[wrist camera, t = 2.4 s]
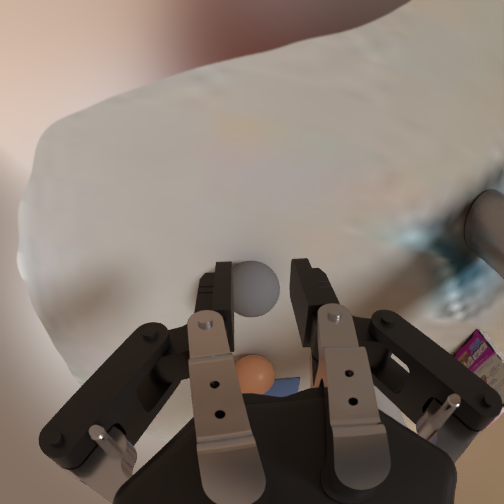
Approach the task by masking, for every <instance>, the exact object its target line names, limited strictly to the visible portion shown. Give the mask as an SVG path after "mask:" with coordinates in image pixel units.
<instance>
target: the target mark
mask: <svg viewBox="0 0 504 504" xmlns="http://www.w3.org/2000/svg"><path fill="white" fill-rule="evenodd" d="M299 380H300V377H298V378H287V379H275V380H274V383H273V385H272V387H271V388H270V389H269V390H268V391H267V392H266V393H264V394H262V395H269V396H277V397H285V396H288V395H291V394H295V393H297V391H298V386H299Z"/></svg>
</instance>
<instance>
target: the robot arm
mask: <svg viewBox="0 0 504 504" xmlns="http://www.w3.org/2000/svg"><path fill="white" fill-rule="evenodd" d="M465 240H466V243H467V245H468V247H469V248H470V249H471V250H472V251H473V252H475V253H476V254H477V255H478V256H479V257H480V258H482V259H483V260H484V261H485V262H486V263H487V264H488V265H489V266H490V267H491V268H492V269H494V270H495V271H496V272H497V273H498V274H499V275H500V276H501V277H502V278H503V279H504V194H503V193H501V192H499V191H497V190H493V189H491V190H487V191H485V192H483V193H482V194H481V195H480V196H479V197H478V198H477V199H476V200H475V202H474V203H473V205H472V207H471V209H470V211H469V213H468V216H467V220H466V224H465ZM290 298H291V302H292V306H293V310H294V314H295V318H296V322H297V326H298V330H299V334H300V338H301V342H302V346H303V347H310V348H311V356H310V372H311V388H309V389H306V390H304V391H301V392H298V393H295V394H291V395H288V396H285V397H277V396H269V395H262V394H255V393H242V392H241V388H240V384H239V380H238V376H237V372H236V367H235V363H234V359H233V355H232V353H231V352H234V292H233V275H232V262H231V261H230V262H216V268H215V273H205V274H204V275H203V276H202V277H201V279H200V281H199V288H198V294H197V299H196V306H195V312H194V314H193V315H191V316H190V318H189V319H188V322H187V324H186V325H184V326H182V327H179V328H175V329H171V330H167V328H166V327H165V326H164V325H163V324H161V323H156V322H151V323H146V324H143V325H141V326H140V327H138V328H137V329H136V330H135V331H134V332H133V333H132V334H131V335H130V336H129V337H128V338H127V339H126V340H125V341H124V343H123V344H122V345H121V346H120V347H119V348H118V349H117V350H116V351H115V352H114V353H113V354H112V355H111V356H110V357H109V358H108V359H107V360H106V361H105V362H104V363H103V364H102V365H101V366H100V367H99V368H98V370H97V371H96V372H95V373H94V374H93V375H92V376H91V377H90V378H89V379H88V380H87V381H86V382H85V383H84V384H83V385H82V386H81V388H80V389H79V390H78V391H77V392H76V393H75V394H74V395H73V396H72V397H71V398H70V399H69V401H67V403H66V404H65V405H64V406H63V407H62V408H61V409H60V410H59V412H58V413H57V414H56V415H55V416H54V417H53V418H52V419H51V420H50V421H49V422H48V423H47V424H46V426H45V427H44V428H43V429H42V431H41V432H40V436H39V445H40V448H41V450H42V451H43V453H44V454H46V455H47V456H48V457H49V458H50V459H52V460H53V461H54V462H55V463H56V464H57V465H58V466H59V467H60V468H62V469H63V470H64V471H66V472H67V473H69V474H70V475H71V476H73V477H74V478H76V479H79V480H80V481H82V482H83V483H85V484H86V485H88V486H89V487H91V488H92V489H93V490H95V491H96V492H97V493H99V494H100V495H101V496H103V497H104V498H106V499H107V500H108V501H110V502H111V503H113V504H454V496H455V489H456V483H457V471H456V467H455V464H454V463H455V462H456V461H457V460H458V458H459V457H460V456H461V455H462V454H463V452H464V451H465V450H466V448H467V447H468V446H469V445H470V443H471V442H472V441H473V440H474V439H475V438H476V437H477V436H478V435H479V434H480V433H481V432H482V431H483V430H484V429H485V428H486V427H487V426H488V425H489V424H490V423H491V422H492V421H493V420H494V419H495V418H496V417H497V416H498V415H499V414H500V412H501V410H502V406H503V403H502V399H501V397H500V395H499V393H498V392H497V391H496V390H494V389H493V388H492V387H491V386H490V385H488V384H487V383H486V382H485V381H483V380H482V379H481V378H480V377H478V376H477V375H476V374H475V373H473V372H472V371H471V370H470V369H468V368H467V367H466V366H465V365H463V364H462V363H461V362H460V361H458V360H457V359H456V358H454V357H453V356H452V355H451V354H449V353H448V352H447V351H446V350H444V349H443V348H442V347H440V346H439V345H438V344H436V343H435V342H434V341H433V340H431V339H430V338H429V337H427V336H426V335H425V334H423V333H422V332H421V331H419V330H418V329H417V328H415V327H414V326H413V325H411V324H410V323H409V322H407V321H406V320H405V319H403V318H402V317H401V316H399V315H398V314H397V313H395V312H393V311H389V310H379V311H376V312H375V313H374V314H373V315H372V317H371V319H367V318H359V317H355V316H352V314H351V312H350V310H349V309H348V308H346V307H345V306H343V305H340V303H339V301H338V299H337V297H336V295H335V292H334V290H333V288H332V287H331V284H330V282H329V280H328V278H327V275H326V274H325V273H324V272H323V271H322V270H321V269H319V268H312V267H311V265H310V263H309V260H308V259H307V258H303V259H292V261H291V273H290ZM392 353H393V354H394V355H395V356H396V357H398V358H399V359H400V360H401V361H402V362H403V363H405V364H406V365H407V366H408V368H409V371H410V373H408V372H407V371H406V370H405V369H404V368H403V367H402V366H400V365H399V364H398V363H397V362H396V361H395V360H393V359H392V358H391V355H392ZM187 378H190V385H191V395H192V404H193V413H194V417H193V418H192V419H191V420H190V421H189V422H188V423H187V424H186V425H185V426H184V427H183V428H182V429H181V430H180V431H179V432H178V433H177V434H176V435H175V436H174V437H173V438H172V439H171V440H170V441H169V442H168V443H167V444H166V445H165V446H164V447H163V448H162V449H161V450H160V451H159V452H158V453H157V454H155V456H153V457H152V458H151V459H150V460H149V461H148V462H147V463H146V464H145V465H144V466H143V467H142V468H140V469H139V470H138V471H137V472H136V473H135V474H134V475H133V476H132V470H133V467H134V465H135V463H136V460H137V453H136V450H135V448H134V445H135V444H136V442H137V441H138V440H139V438H140V437H141V436H142V434H143V433H144V432H145V430H146V429H147V428H148V426H149V425H150V423H151V422H152V421H153V419H154V418H155V417H156V415H157V414H158V413H159V411H160V410H161V409H162V407H163V406H164V404H165V403H166V402H167V400H168V399H169V398H170V396H171V395H172V393H173V392H174V391H175V389H176V388H177V387H178V385H179V384H180V382H181V380H183V379H187ZM374 386H375V387H376V388H378V389H379V390H380V391H381V392H382V393H383V394H384V395H385V396H386V397H387V398H388V399H389V400H390V401H391V402H392V403H393V404H394V405H395V406H397V407H398V408H399V409H400V410H401V411H402V412H403V413H404V414H405V415H406V416H407V417H408V418H409V419H410V420H411V421H412V422H414V423H415V424H416V431H417V433H418V434H416V433H415V432H413V431H412V430H410V429H409V428H407V427H405V426H404V425H402V424H401V423H399V422H398V421H396V420H395V419H393V418H392V417H390V416H389V415H387V414H386V413H384V412H383V411H381V410H380V409H378V406H377V400H376V395H375V390H374Z"/></svg>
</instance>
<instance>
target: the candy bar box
mask: <svg viewBox="0 0 504 504" xmlns="http://www.w3.org/2000/svg"><path fill="white" fill-rule="evenodd" d="M453 357H454V358H456V359H457V360H458V361H460V362H461V363H462V364H463V365H465V366H466V367H467V368H468V369H470V370H471V371H472V372H473V373H475V374H476V375H477V376H478V377H480V378H481V379H482V380H483V381H485V382H486V383H487V384H488V385H490V386H491V387H492V388H493V389H494V390H496V391H497V392H498V393H499V395H500V397H501V399H502V403H503V406H502V410H501V412H500V414H499V415H498V416H497V417H496V418H495V419H494V420H493V421H492V422H494V421H495V420H496V419H497V418H498V417H499V416H500V415H501V414H502V413H504V356H503V355H502V353H501V352H500V351H499V349H498V348H497V347H496V345H495V344H494V343H493V341H492V340H491V339H490V338H489V336H488V335H487V334H486V333H485V332H483V331H481V330H479V329H477V330H476V331H475V332H474V333H473V334H472V335H471V337H470V338H469V339H468V340H467V341H466V342H465V344H464V345H463V346H462V347H461V348H460V349H459V350H458V351H457V353H456V354H455V355H454V356H453ZM492 422H491V423H492ZM491 423H490V424H491ZM490 424H489V425H490ZM489 425H488V426H489ZM488 426H487V427H488ZM487 427H486V428H487ZM486 428H485V429H486Z"/></svg>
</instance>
